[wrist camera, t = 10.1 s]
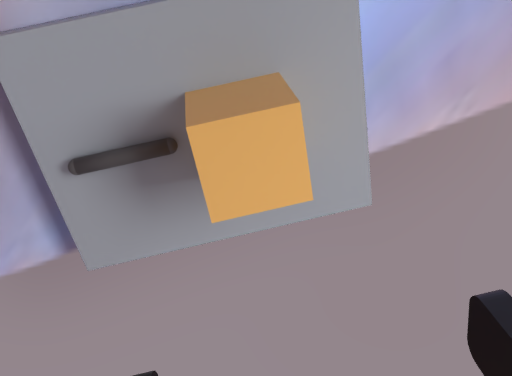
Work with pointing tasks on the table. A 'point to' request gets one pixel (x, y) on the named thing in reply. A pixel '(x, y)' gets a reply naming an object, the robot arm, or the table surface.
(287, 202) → the orange toy cube
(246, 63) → the grey slider board
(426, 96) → the table surface
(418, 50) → the table surface
